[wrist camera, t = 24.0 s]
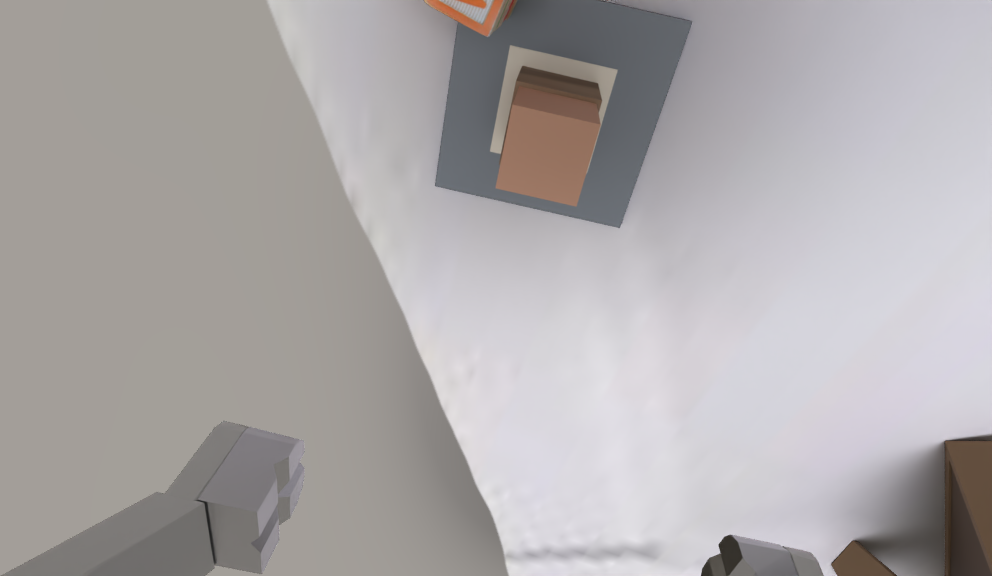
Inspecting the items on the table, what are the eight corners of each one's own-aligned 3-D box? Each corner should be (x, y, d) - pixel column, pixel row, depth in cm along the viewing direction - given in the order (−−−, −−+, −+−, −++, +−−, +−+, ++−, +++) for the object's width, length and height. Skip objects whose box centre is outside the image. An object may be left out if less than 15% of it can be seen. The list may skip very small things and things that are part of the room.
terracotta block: (519, 86, 31) (512, 104, 27) (596, 103, 31) (600, 124, 27) (503, 161, 33) (495, 188, 29) (575, 177, 33) (576, 206, 29)
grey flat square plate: (466, -31, 33) (464, -31, 32) (690, 21, 33) (692, 22, 32) (436, 183, 40) (434, 186, 40) (619, 224, 40) (619, 228, 40)
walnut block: (522, 65, 35) (516, 80, 30) (598, 83, 35) (602, 100, 30) (506, 140, 37) (498, 164, 33) (576, 157, 37) (577, 182, 33)
